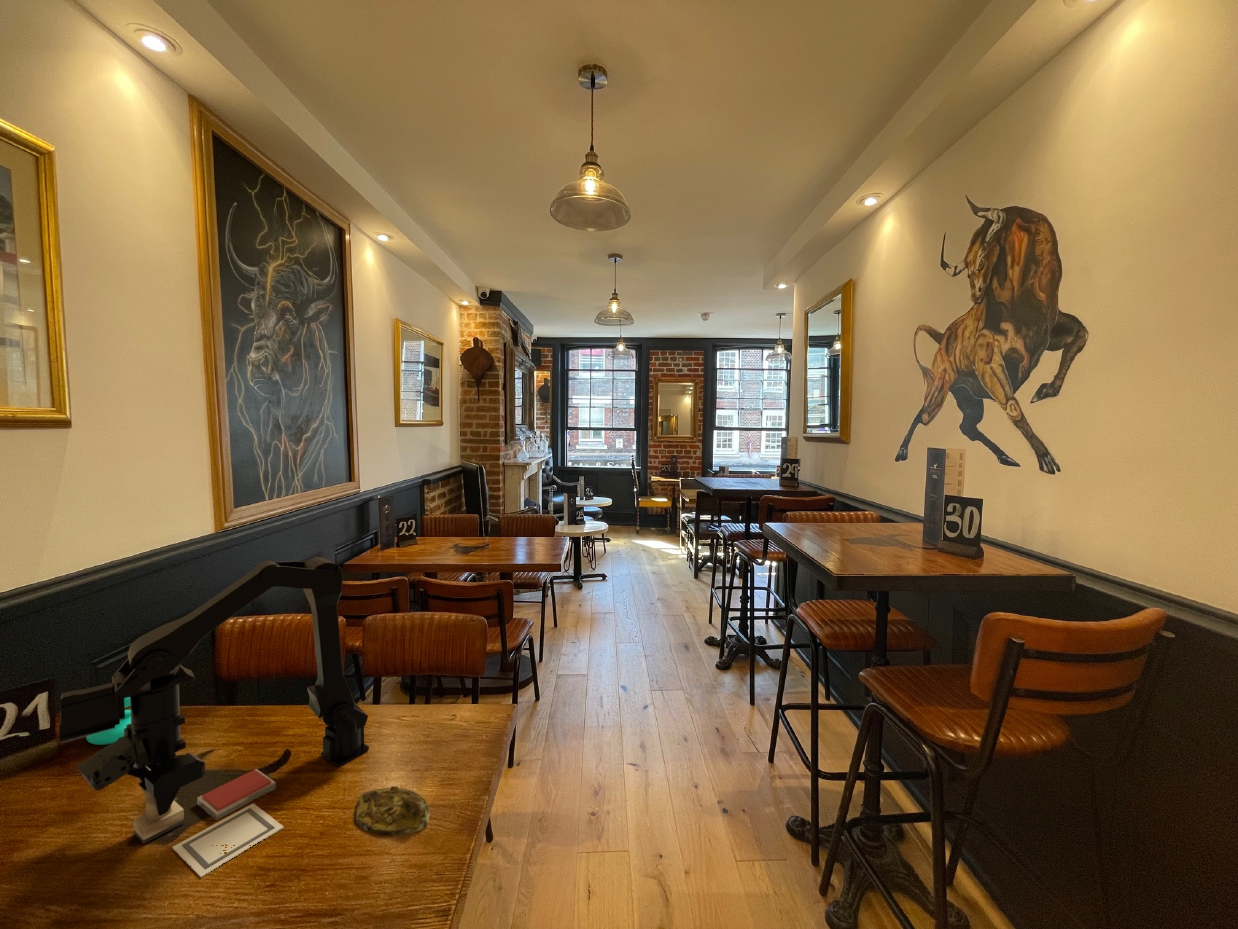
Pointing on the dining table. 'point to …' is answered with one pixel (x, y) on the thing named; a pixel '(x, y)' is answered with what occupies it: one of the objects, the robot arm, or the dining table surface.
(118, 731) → the donuts
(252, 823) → the card
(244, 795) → the ink pad
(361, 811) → the olive brown oval relief
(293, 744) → the dining table surface
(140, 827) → the stamp
